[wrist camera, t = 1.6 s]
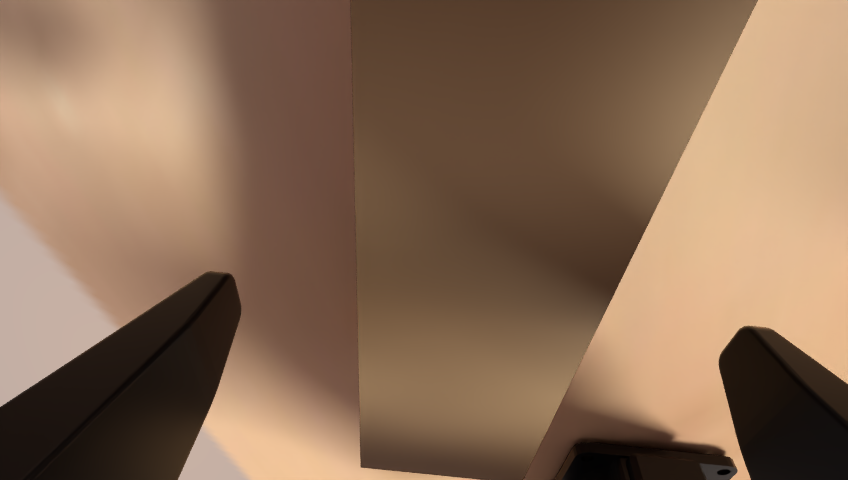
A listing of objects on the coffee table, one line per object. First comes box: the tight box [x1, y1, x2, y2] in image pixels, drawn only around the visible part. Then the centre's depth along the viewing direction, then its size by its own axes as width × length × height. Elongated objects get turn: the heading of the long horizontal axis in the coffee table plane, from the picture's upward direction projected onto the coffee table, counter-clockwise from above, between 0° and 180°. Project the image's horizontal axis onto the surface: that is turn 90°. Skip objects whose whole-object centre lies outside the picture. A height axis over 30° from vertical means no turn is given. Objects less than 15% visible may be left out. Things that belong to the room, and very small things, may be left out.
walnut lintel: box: [351, 0, 758, 480], centre depth 10 cm, size 14×4×4 cm, turn 176°
